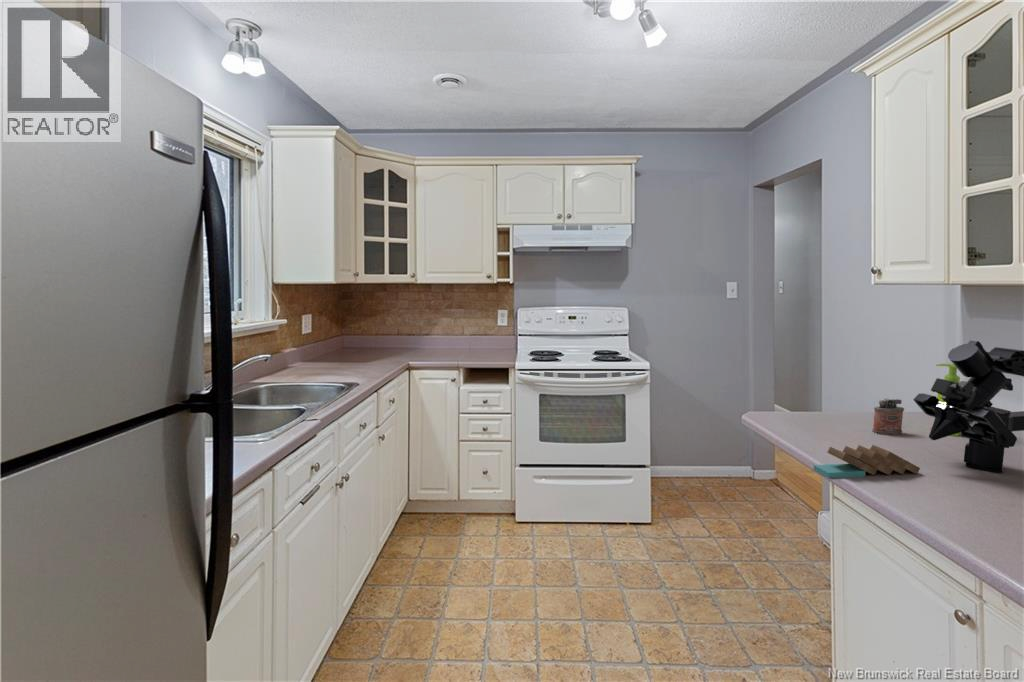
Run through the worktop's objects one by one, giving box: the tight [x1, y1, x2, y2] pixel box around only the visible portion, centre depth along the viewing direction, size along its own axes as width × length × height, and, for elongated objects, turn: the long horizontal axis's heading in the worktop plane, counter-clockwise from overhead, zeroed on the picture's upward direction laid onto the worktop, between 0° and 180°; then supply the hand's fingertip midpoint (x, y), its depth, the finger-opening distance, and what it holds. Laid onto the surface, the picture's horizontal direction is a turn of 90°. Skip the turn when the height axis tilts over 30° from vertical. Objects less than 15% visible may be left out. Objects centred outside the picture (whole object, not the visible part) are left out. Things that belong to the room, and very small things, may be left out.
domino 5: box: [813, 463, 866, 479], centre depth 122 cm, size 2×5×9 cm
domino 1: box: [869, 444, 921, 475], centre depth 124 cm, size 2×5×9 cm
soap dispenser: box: [935, 363, 961, 437], centre depth 154 cm, size 6×7×20 cm
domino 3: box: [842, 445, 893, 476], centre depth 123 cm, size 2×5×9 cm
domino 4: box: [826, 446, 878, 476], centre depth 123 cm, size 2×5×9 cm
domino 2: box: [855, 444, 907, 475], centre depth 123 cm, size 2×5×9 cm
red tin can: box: [871, 397, 905, 435], centre depth 154 cm, size 8×3×10 cm, turn 92°
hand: (931, 438), depth 124 cm, fingers closed
